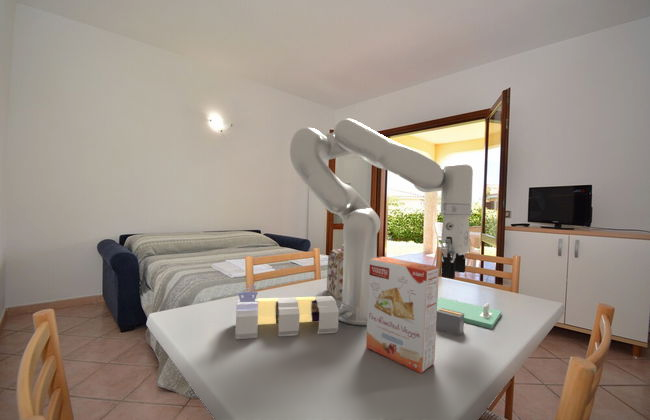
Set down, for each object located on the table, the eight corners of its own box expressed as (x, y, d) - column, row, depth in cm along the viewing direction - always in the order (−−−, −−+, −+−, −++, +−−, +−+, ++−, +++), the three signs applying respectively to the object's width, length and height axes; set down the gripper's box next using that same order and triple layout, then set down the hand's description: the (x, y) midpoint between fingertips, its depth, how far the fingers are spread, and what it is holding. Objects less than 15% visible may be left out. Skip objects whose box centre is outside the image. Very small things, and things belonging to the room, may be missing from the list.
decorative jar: (326, 289, 116) (327, 242, 115) (354, 288, 119) (356, 242, 119) (336, 299, 104) (338, 247, 104) (367, 297, 108) (369, 247, 107)
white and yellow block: (234, 342, 71) (236, 286, 70) (236, 324, 81) (238, 275, 80) (337, 335, 76) (339, 284, 76) (327, 319, 86) (329, 274, 86)
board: (491, 328, 84) (492, 313, 84) (424, 311, 96) (425, 298, 96) (501, 314, 95) (502, 301, 95) (440, 300, 107) (440, 289, 107)
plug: (459, 336, 78) (460, 316, 78) (435, 329, 82) (436, 310, 82) (463, 331, 81) (464, 312, 81) (440, 325, 85) (441, 307, 85)
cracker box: (364, 349, 69) (368, 257, 69) (379, 341, 73) (383, 255, 73) (421, 375, 59) (426, 269, 59) (435, 364, 63) (440, 265, 63)
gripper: (461, 211, 72) (459, 283, 72) (478, 211, 85) (476, 271, 86) (430, 210, 77) (428, 277, 77) (451, 210, 90) (449, 267, 90)
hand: (453, 274), depth 81 cm, fingers open, 9 cm apart
